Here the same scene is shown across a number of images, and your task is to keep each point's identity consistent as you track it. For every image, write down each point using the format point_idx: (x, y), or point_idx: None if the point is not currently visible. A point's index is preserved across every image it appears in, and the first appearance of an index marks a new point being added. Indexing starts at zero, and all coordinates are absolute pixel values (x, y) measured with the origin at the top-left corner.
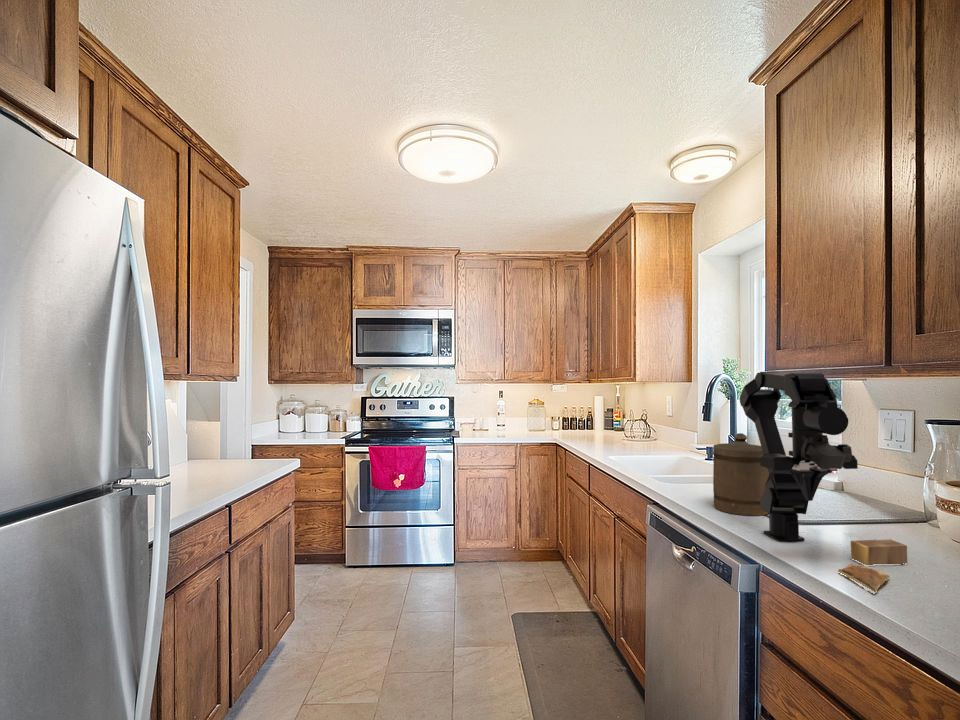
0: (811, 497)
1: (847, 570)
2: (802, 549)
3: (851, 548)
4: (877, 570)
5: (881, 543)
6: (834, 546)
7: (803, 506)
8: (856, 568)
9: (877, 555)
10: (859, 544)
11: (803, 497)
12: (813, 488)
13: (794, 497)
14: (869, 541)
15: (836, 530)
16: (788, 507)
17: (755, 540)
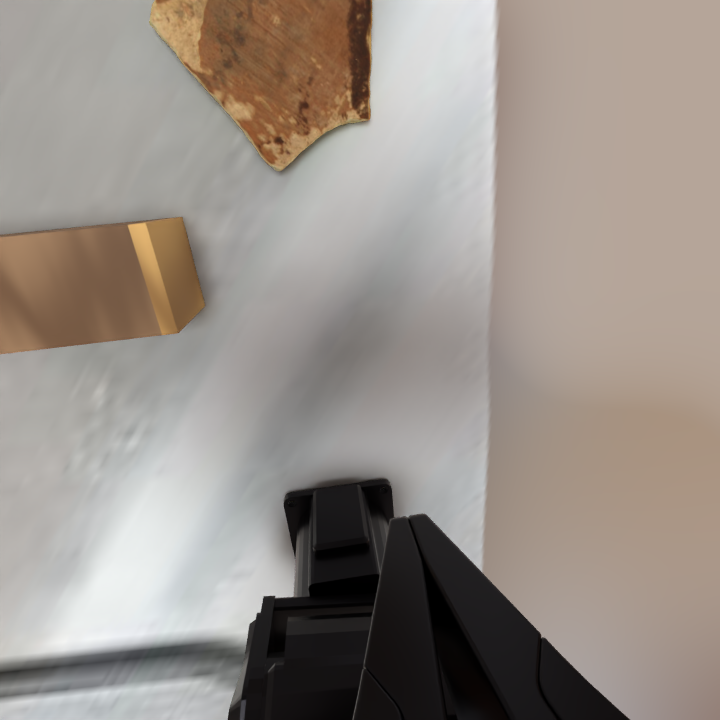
0: (409, 537)
1: (340, 84)
2: (346, 409)
3: (189, 317)
4: (187, 63)
5: (15, 289)
6: (197, 447)
7: (290, 619)
8: (284, 99)
9: (96, 226)
10: (159, 270)
11: (298, 672)
12: (422, 630)
13: (359, 667)
14: (73, 324)
15: (100, 602)
16: (367, 612)
17: (463, 487)
